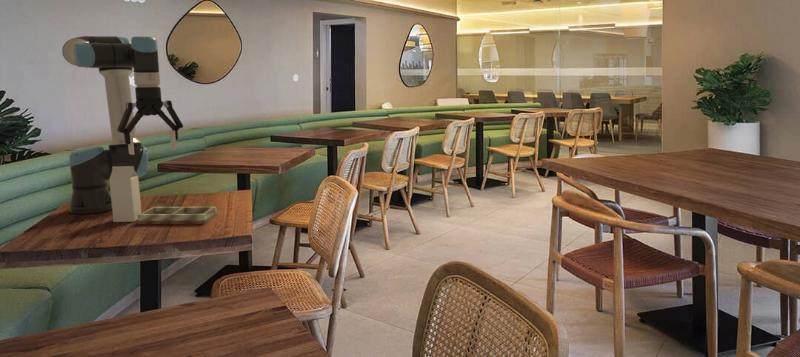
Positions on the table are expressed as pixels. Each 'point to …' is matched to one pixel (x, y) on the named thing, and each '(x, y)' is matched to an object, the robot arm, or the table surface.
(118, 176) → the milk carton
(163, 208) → the board
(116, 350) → the table surface
